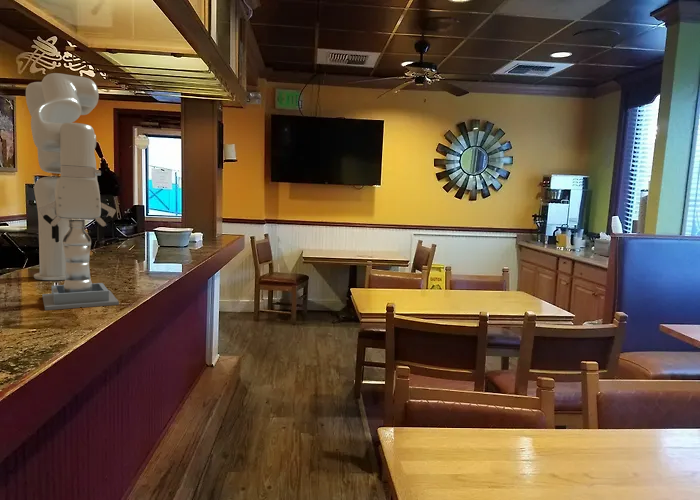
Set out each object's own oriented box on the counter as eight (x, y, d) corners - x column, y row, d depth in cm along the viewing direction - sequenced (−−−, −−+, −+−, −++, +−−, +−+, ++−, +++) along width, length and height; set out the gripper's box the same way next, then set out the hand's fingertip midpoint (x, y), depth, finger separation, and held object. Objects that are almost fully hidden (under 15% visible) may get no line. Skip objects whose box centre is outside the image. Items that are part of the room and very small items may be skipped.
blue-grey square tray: (42, 297, 132) (42, 284, 132) (109, 292, 141) (109, 281, 140) (45, 310, 119) (44, 296, 118) (118, 304, 127) (118, 291, 127)
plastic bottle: (97, 295, 133) (97, 220, 131) (81, 300, 126) (80, 221, 124) (75, 294, 133) (73, 218, 131) (57, 299, 127) (55, 220, 125)
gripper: (113, 175, 134) (113, 239, 136) (36, 171, 125) (38, 240, 127) (117, 176, 128) (117, 242, 130) (37, 171, 118) (39, 243, 121)
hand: (78, 241), depth 128 cm, fingers open, 9 cm apart
